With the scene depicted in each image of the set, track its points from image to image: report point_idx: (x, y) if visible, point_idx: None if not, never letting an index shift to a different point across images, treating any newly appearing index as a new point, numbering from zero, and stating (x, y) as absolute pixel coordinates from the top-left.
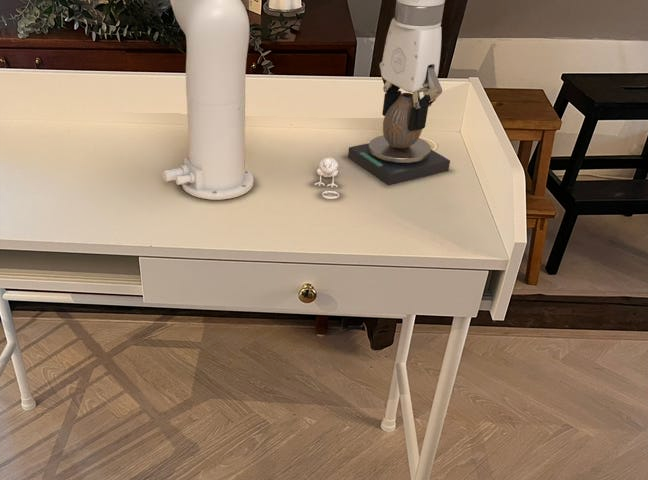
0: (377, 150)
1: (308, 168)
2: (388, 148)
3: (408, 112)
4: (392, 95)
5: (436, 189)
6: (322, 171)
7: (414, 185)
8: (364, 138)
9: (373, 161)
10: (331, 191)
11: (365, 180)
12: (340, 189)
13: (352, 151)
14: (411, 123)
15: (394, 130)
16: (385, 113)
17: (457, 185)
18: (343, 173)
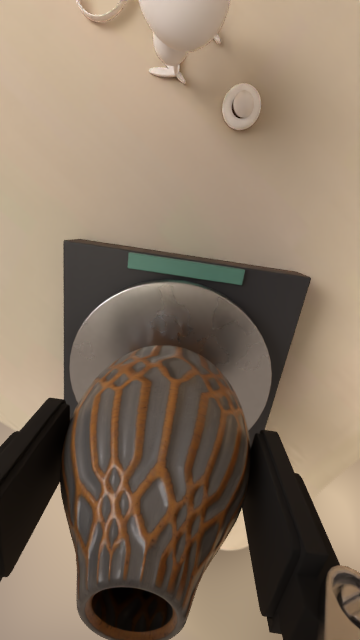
0: (183, 299)
1: (333, 84)
2: (173, 340)
3: (71, 477)
4: (279, 566)
5: (4, 328)
6: None
7: (47, 300)
8: (354, 399)
9: (162, 259)
10: (119, 3)
11: (140, 203)
12: (130, 71)
13: (284, 272)
14: (31, 423)
15: (123, 364)
16: (258, 439)
17: (4, 381)
18: (220, 176)
